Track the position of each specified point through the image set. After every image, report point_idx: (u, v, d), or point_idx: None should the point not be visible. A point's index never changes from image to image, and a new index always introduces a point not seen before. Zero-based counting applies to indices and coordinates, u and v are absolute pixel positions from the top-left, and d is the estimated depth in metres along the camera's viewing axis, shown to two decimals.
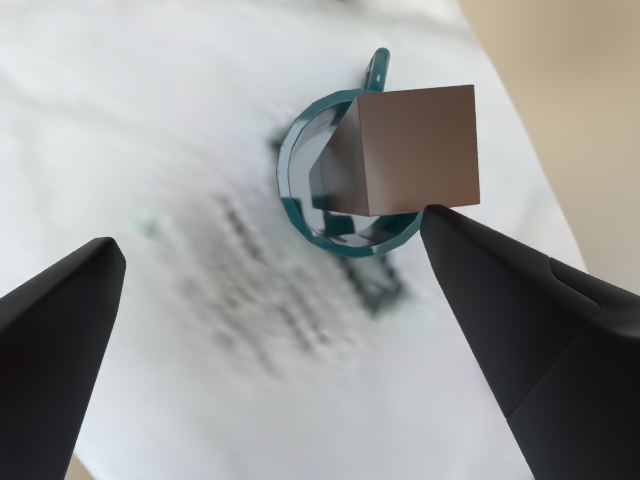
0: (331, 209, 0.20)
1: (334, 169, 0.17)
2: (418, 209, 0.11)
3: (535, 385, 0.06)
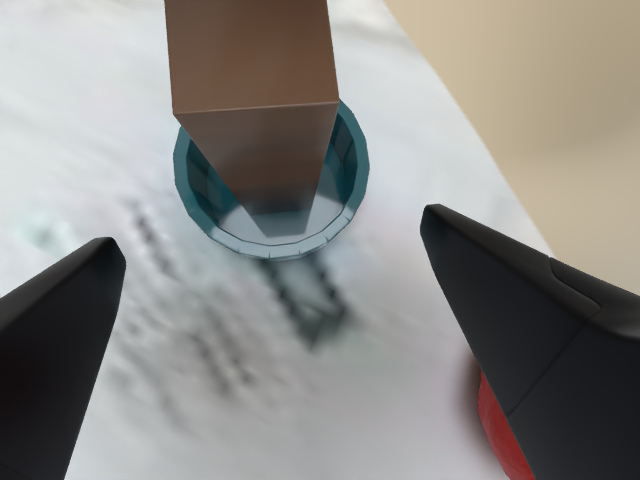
0: None
1: None
2: (248, 107, 0.08)
3: (535, 385, 0.06)
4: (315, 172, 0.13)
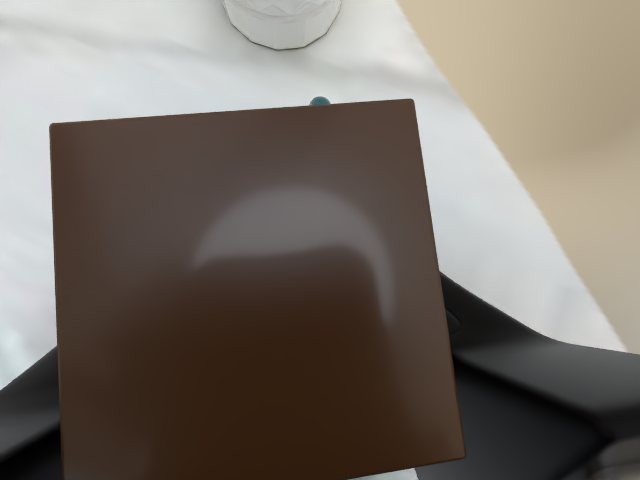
0: None
1: None
2: None
3: None
4: None
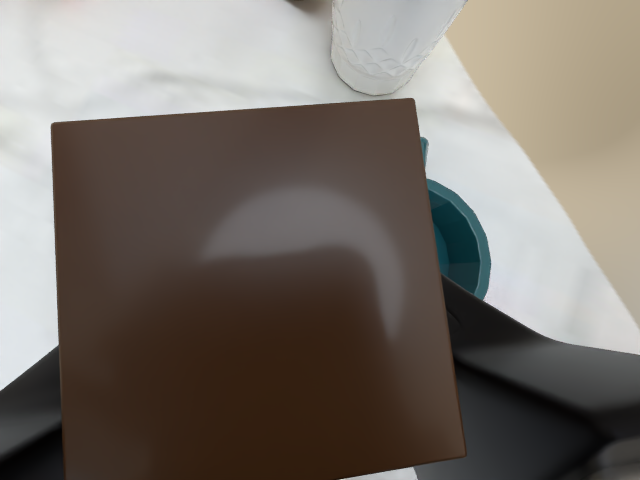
0: None
1: None
2: None
3: None
4: None
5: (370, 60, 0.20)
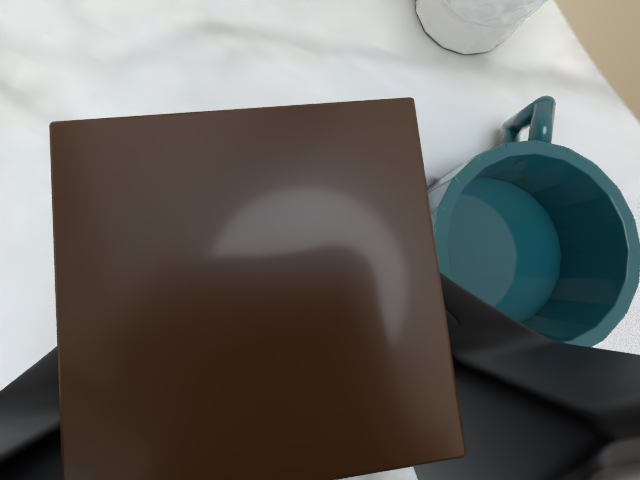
0: None
1: None
2: None
3: None
4: None
5: (484, 0, 0.16)
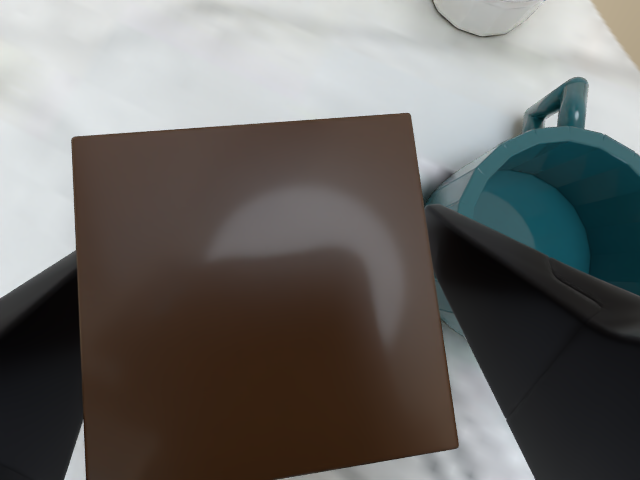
0: None
1: None
2: (260, 476, 0.03)
3: (535, 385, 0.06)
4: None
5: None
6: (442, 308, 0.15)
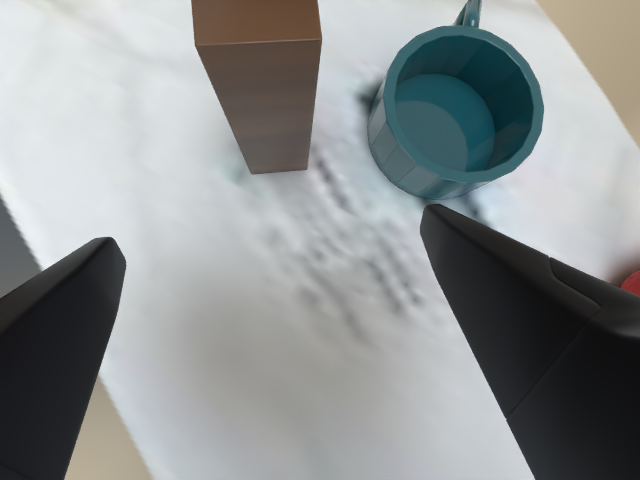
0: (242, 153, 0.19)
1: None
2: (251, 42, 0.10)
3: (535, 385, 0.06)
4: (307, 119, 0.16)
5: None
6: (384, 159, 0.22)
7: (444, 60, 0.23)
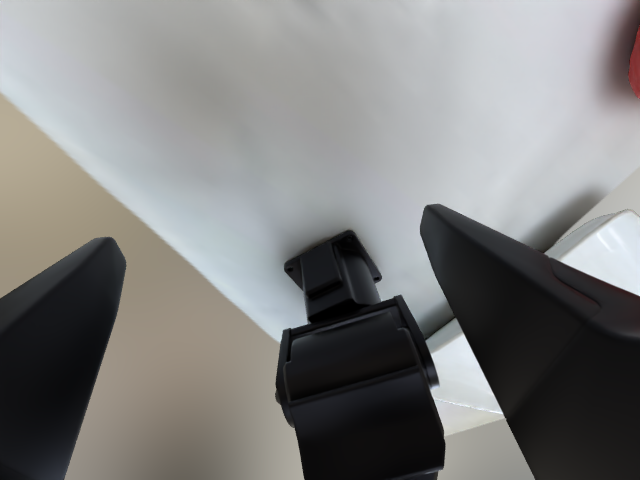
0: None
1: None
2: None
3: (535, 385, 0.06)
4: None
5: None
6: None
7: None
